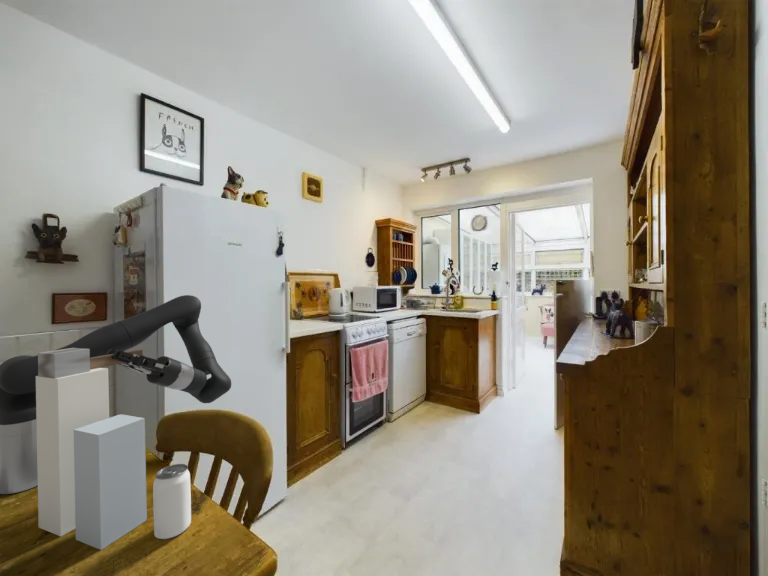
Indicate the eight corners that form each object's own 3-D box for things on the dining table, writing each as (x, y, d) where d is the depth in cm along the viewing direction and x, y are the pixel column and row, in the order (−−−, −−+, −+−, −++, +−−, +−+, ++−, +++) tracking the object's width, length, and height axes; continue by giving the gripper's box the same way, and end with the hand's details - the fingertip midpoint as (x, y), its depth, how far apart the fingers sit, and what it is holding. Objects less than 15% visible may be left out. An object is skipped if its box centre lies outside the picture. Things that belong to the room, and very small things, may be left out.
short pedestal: (75, 539, 65) (73, 429, 65) (122, 512, 73) (120, 414, 73) (101, 549, 62) (98, 435, 62) (146, 520, 70) (144, 418, 70)
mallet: (38, 376, 69) (37, 352, 69) (132, 358, 86) (132, 339, 86) (54, 378, 67) (54, 354, 67) (147, 359, 84) (147, 340, 84)
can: (173, 542, 64) (172, 481, 64) (145, 538, 65) (144, 478, 65) (198, 519, 70) (197, 464, 70) (172, 516, 71) (171, 461, 71)
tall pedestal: (38, 527, 69) (35, 376, 69) (89, 501, 77) (86, 366, 77) (60, 536, 66) (57, 379, 66) (111, 508, 74) (108, 368, 75)
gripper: (160, 359, 97) (101, 338, 83) (194, 362, 92) (138, 339, 78) (148, 385, 93) (84, 367, 79) (183, 389, 89) (121, 370, 75)
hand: (111, 353), depth 79 cm, fingers closed on mallet
